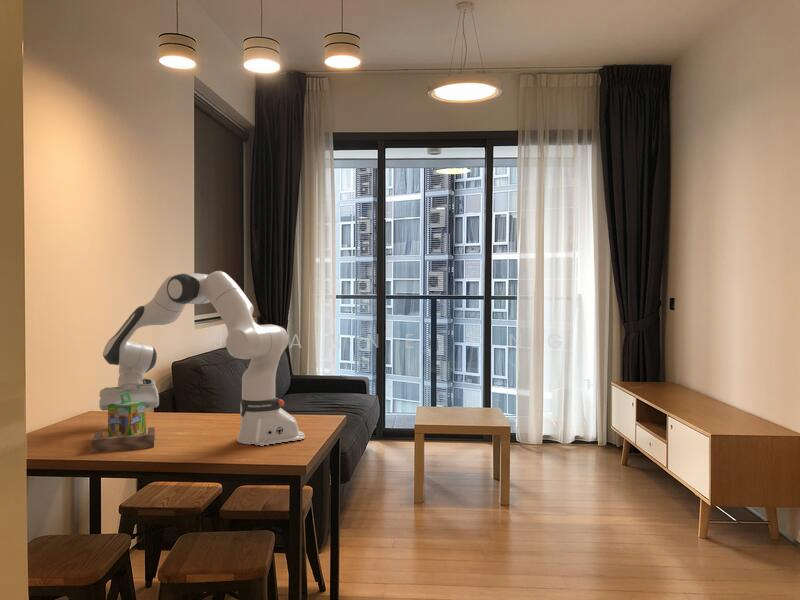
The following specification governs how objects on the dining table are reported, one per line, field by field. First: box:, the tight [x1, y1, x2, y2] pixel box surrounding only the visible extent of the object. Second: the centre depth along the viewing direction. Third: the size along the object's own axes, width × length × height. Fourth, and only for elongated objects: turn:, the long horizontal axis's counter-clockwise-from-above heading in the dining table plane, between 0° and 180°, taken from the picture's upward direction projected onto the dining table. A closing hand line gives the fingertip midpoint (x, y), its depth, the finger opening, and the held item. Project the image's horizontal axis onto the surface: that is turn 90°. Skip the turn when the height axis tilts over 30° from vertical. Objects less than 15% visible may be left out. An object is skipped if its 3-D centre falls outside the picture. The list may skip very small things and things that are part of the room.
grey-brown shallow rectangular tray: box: [91, 426, 156, 453], centre depth 194 cm, size 18×12×4 cm, turn 111°
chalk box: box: [107, 393, 147, 437], centre depth 208 cm, size 9×9×15 cm
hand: (129, 417), depth 216 cm, fingers closed
